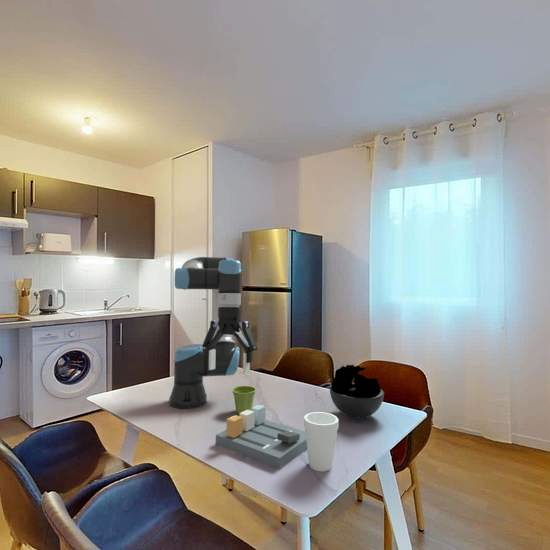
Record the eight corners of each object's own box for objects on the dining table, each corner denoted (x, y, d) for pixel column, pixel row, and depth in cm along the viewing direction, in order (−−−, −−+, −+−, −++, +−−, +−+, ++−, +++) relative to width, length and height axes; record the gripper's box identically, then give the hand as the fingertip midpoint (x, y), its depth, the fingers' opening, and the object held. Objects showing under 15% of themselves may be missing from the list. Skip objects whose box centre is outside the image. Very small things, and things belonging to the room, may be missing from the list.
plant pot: (236, 417, 132) (237, 394, 132) (228, 409, 141) (228, 387, 141) (259, 413, 137) (260, 391, 137) (250, 406, 145) (250, 384, 145)
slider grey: (251, 422, 119) (251, 407, 119) (258, 419, 123) (258, 404, 123) (258, 425, 118) (258, 409, 118) (265, 421, 121) (265, 406, 121)
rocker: (277, 439, 105) (277, 433, 105) (287, 436, 109) (288, 430, 110) (288, 442, 102) (289, 437, 103) (299, 440, 107) (299, 434, 107)
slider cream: (239, 428, 114) (239, 413, 114) (247, 424, 118) (247, 409, 118) (246, 431, 113) (246, 415, 113) (254, 427, 116) (254, 411, 116)
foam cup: (301, 457, 103) (301, 412, 104) (332, 456, 104) (333, 411, 104) (307, 475, 94) (307, 425, 94) (341, 474, 95) (342, 424, 95)
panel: (215, 444, 111) (215, 432, 111) (253, 424, 126) (254, 414, 126) (279, 469, 97) (279, 455, 97) (313, 443, 112) (313, 431, 112)
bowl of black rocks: (348, 403, 149) (349, 358, 150) (393, 417, 135) (393, 367, 136) (318, 416, 135) (319, 366, 136) (365, 432, 121) (366, 376, 121)
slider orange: (226, 435, 109) (226, 419, 110) (235, 431, 113) (235, 415, 113) (233, 438, 108) (234, 421, 108) (242, 433, 111) (242, 417, 111)
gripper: (192, 306, 121) (191, 369, 120) (256, 306, 110) (256, 376, 108) (206, 306, 128) (205, 366, 126) (267, 306, 117) (267, 372, 115)
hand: (228, 371), depth 117 cm, fingers open, 13 cm apart
